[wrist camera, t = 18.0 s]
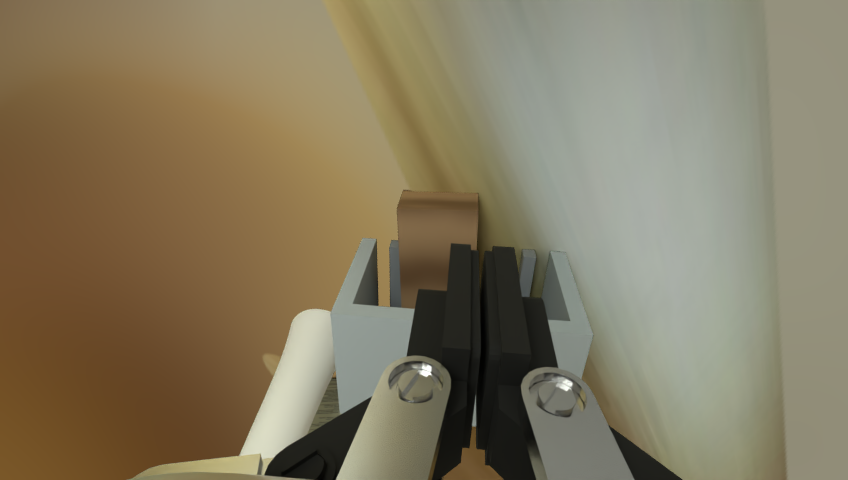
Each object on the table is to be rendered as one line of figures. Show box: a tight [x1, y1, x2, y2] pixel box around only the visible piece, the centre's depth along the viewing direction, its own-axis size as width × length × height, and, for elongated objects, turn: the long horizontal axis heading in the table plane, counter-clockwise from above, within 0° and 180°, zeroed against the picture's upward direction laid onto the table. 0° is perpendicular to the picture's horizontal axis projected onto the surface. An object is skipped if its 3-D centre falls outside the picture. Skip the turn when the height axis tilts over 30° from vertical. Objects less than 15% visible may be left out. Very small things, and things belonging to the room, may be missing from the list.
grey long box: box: [330, 238, 593, 426], centre depth 36 cm, size 10×17×10 cm, turn 88°
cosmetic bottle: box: [239, 309, 336, 459], centre depth 35 cm, size 6×6×22 cm
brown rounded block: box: [397, 190, 479, 309], centre depth 38 cm, size 11×6×4 cm, turn 1°
